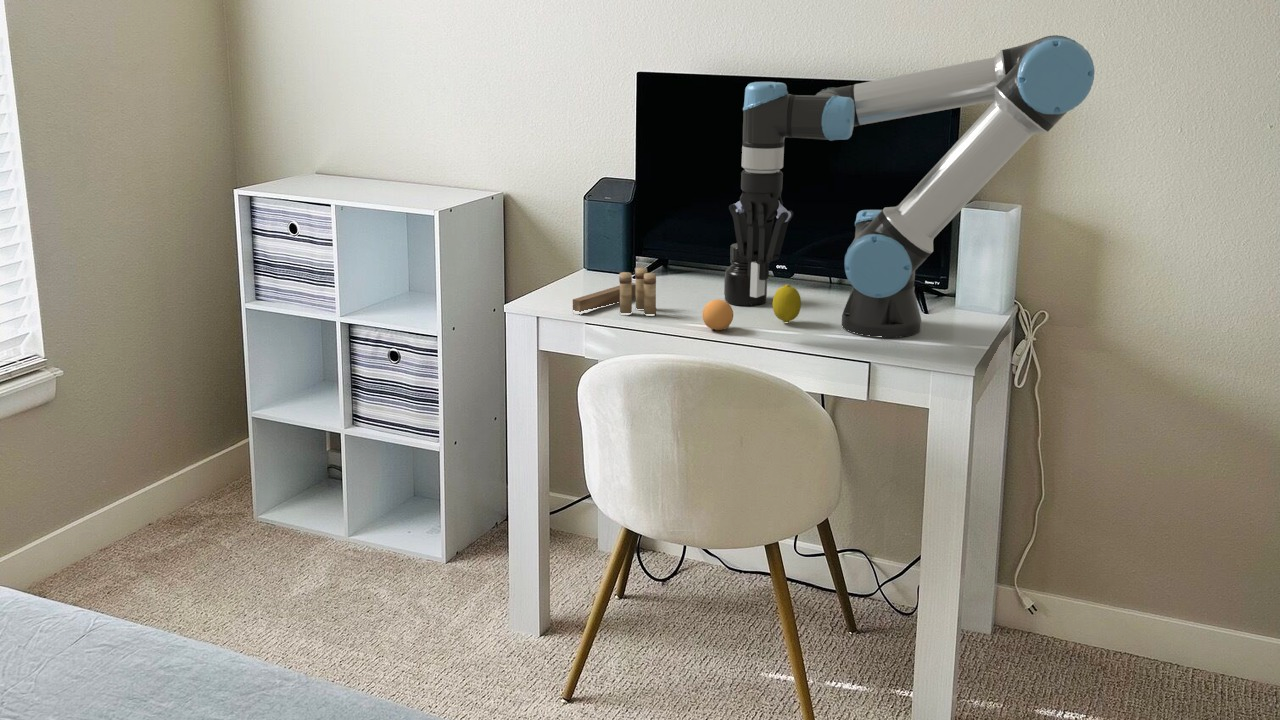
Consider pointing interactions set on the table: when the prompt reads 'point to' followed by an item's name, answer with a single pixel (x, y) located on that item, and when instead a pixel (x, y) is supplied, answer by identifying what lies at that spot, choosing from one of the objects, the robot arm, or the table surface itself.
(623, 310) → the pin
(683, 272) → the table surface
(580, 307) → the rail
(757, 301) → the ink bottle
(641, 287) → the pin
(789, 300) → the lemon
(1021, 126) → the robot arm
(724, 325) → the ball
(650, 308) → the pin front
